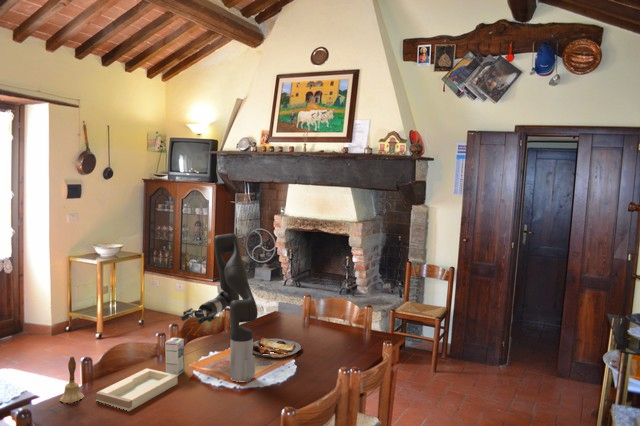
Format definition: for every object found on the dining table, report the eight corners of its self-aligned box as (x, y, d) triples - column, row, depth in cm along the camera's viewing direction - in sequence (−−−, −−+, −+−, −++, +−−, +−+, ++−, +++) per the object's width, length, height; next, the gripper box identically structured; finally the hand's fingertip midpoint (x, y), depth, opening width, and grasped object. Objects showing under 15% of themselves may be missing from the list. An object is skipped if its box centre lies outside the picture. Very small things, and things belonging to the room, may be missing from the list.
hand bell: (79, 391, 194) (78, 351, 193) (87, 399, 188) (86, 357, 187) (56, 398, 188) (55, 356, 187) (63, 406, 182) (63, 363, 181)
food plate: (239, 354, 237) (239, 346, 237) (262, 339, 258) (263, 333, 258) (286, 364, 228) (287, 356, 227) (307, 348, 249) (307, 341, 249)
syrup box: (178, 376, 210) (178, 342, 209) (165, 375, 211) (165, 341, 210) (184, 371, 216) (184, 338, 215) (171, 369, 217) (171, 337, 216)
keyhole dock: (146, 376, 209) (146, 368, 209) (177, 383, 203) (177, 375, 203) (96, 401, 186) (95, 392, 186) (128, 411, 179) (128, 401, 179)
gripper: (197, 299, 238) (176, 309, 223) (223, 303, 233) (204, 314, 218) (197, 314, 239) (176, 325, 224) (223, 318, 234) (204, 331, 219)
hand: (190, 320), depth 221 cm, fingers open, 8 cm apart
